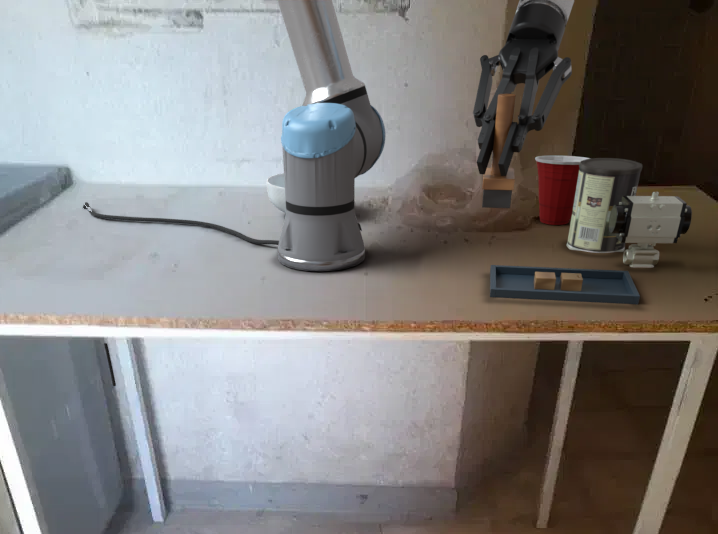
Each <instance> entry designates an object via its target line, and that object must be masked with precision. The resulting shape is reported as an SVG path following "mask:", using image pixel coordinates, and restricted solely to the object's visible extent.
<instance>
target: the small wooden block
mask: <svg viewBox="0 0 718 534" xmlns="http://www.w3.org/2000/svg"><path fill="white" fill-rule="evenodd" d="M582 283H583V279H582V275H581V274H579V273H561V278H560V288H561V290H563V291H581V288H582Z"/></svg>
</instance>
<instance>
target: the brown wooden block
mask: <svg viewBox="0 0 718 534" xmlns="http://www.w3.org/2000/svg"><path fill="white" fill-rule="evenodd" d="M555 282H556V277H555V273H554V272H535V276H534V289H543V290H554V288H555Z"/></svg>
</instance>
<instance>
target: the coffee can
mask: <svg viewBox="0 0 718 534" xmlns="http://www.w3.org/2000/svg"><path fill="white" fill-rule="evenodd" d="M643 167H644V165H643V164H642V162H641V163H640V162H638V161H635V160H632V159H627V158H626V159H625V158H616V157H615V158H614V157H596V158H595V157H593V158H590V159H586V160H583V161H581V162H580V163H579V174H578V180H577V187H576V193H575V199H574V205H573V211H572V216H571V219H570V222H569V230H568V236H567V242H566V247H567V248H568V249H569V250H571V251H582V252H588V253H596V254H610V253H624V252H625V250H626V244H627V243H621V242H620V241H619V240H618V238H617V237H616V236H615V233H610V231H609V218H610V213H611V210H612V208H613V206H614V205H619V202H621V200H622V196H637V192H638V187H639V181H640V177H641V172H642V170H643Z"/></svg>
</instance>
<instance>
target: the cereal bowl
mask: <svg viewBox="0 0 718 534" xmlns="http://www.w3.org/2000/svg"><path fill="white" fill-rule="evenodd" d="M266 192H267V196H268V199H269V201H270V203H271V204H272V205H273V206H274V208H276V209H277V210H279V211H281V212H283V213H285V214H286V199H285V182H284V172H282V173H277V174H273V175H271V176H269V177H268V178H267V179H266Z"/></svg>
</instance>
